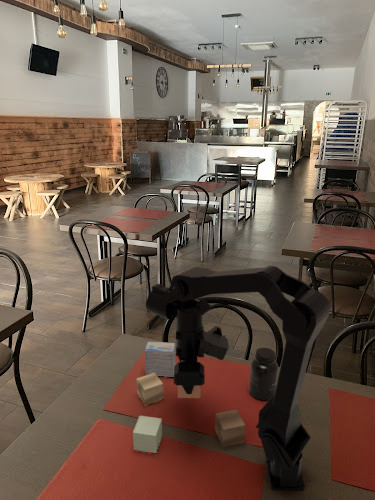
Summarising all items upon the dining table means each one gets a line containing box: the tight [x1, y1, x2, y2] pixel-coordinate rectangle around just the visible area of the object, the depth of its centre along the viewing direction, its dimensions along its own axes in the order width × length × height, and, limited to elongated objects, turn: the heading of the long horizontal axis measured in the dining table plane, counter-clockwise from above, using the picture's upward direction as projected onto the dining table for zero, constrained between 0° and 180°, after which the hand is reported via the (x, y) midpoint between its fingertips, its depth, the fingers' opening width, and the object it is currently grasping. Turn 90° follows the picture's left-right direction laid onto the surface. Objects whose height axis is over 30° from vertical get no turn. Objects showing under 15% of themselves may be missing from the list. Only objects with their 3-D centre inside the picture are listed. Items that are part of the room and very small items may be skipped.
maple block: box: [136, 373, 164, 406], centre depth 99 cm, size 5×5×5 cm
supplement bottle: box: [249, 347, 279, 401], centre depth 100 cm, size 7×7×12 cm
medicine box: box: [144, 341, 177, 378], centre depth 108 cm, size 8×4×9 cm, turn 84°
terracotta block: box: [177, 385, 201, 399], centre depth 89 cm, size 5×5×5 cm
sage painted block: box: [132, 415, 163, 453], centre depth 85 cm, size 5×5×5 cm
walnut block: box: [214, 409, 246, 449], centre depth 87 cm, size 5×5×5 cm
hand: (189, 385), depth 89 cm, fingers closed on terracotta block, 5 cm apart
